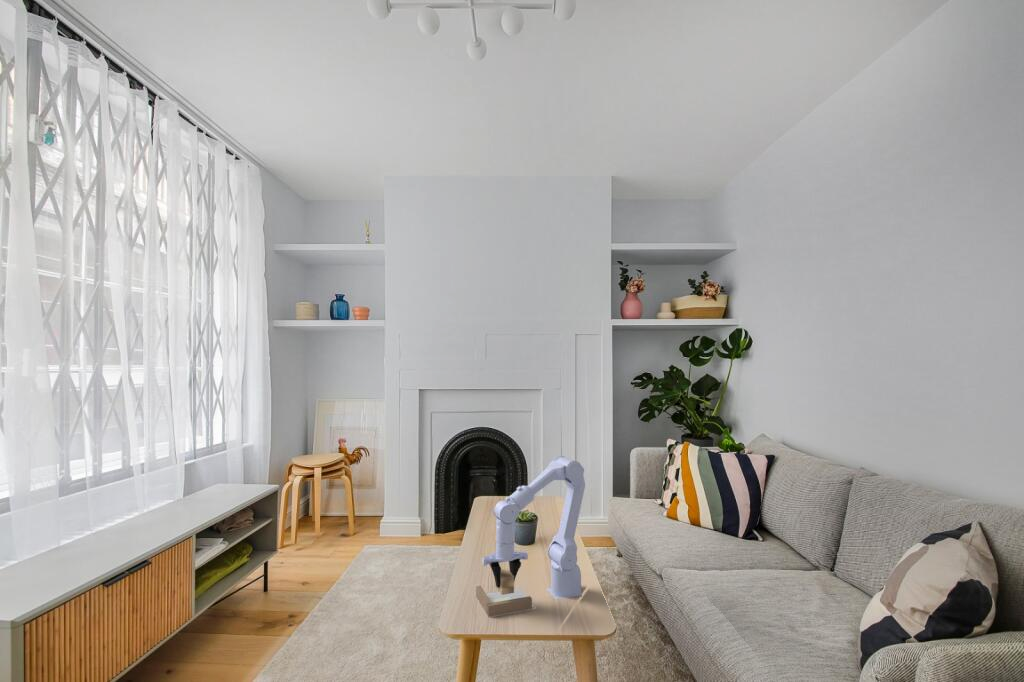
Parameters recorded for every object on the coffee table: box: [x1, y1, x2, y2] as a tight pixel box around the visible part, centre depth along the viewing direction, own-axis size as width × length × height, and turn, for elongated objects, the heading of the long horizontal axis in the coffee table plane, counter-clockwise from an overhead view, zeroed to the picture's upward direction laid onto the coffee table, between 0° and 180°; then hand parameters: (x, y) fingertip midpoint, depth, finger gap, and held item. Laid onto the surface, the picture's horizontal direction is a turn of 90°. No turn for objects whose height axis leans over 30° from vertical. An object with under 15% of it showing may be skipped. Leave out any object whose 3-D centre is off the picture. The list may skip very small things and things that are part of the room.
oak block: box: [495, 568, 515, 595], centre depth 154 cm, size 4×6×5 cm, turn 20°
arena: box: [475, 585, 538, 619], centre depth 155 cm, size 16×14×4 cm
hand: (504, 585), depth 154 cm, fingers closed on oak block, 4 cm apart
